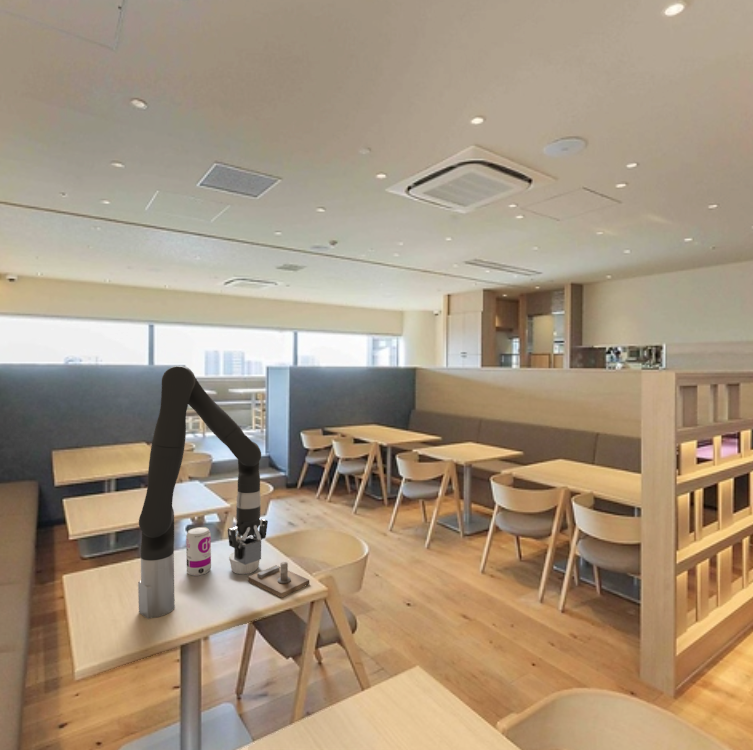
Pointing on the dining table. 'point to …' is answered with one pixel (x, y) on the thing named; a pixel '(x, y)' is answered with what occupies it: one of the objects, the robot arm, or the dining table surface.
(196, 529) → the supplement can
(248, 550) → the grey hollow cube
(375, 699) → the dining table surface
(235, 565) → the ramekin
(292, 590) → the board
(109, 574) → the dining table surface
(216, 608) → the dining table surface
